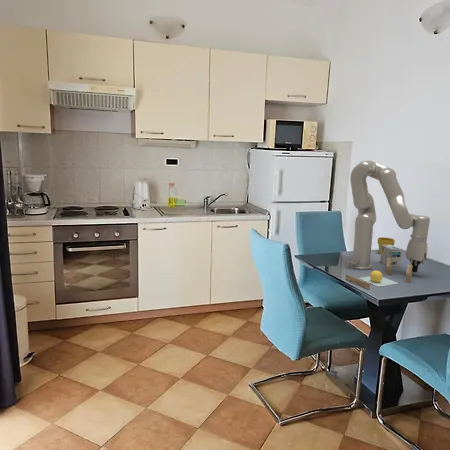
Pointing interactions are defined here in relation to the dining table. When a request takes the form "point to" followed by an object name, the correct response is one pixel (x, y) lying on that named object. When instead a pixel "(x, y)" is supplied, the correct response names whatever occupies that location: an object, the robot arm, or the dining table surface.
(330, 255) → the dining table surface
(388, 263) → the post left
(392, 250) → the light bulb box
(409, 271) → the post right
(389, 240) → the plant pot
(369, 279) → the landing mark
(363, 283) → the stopper wall
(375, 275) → the ball
